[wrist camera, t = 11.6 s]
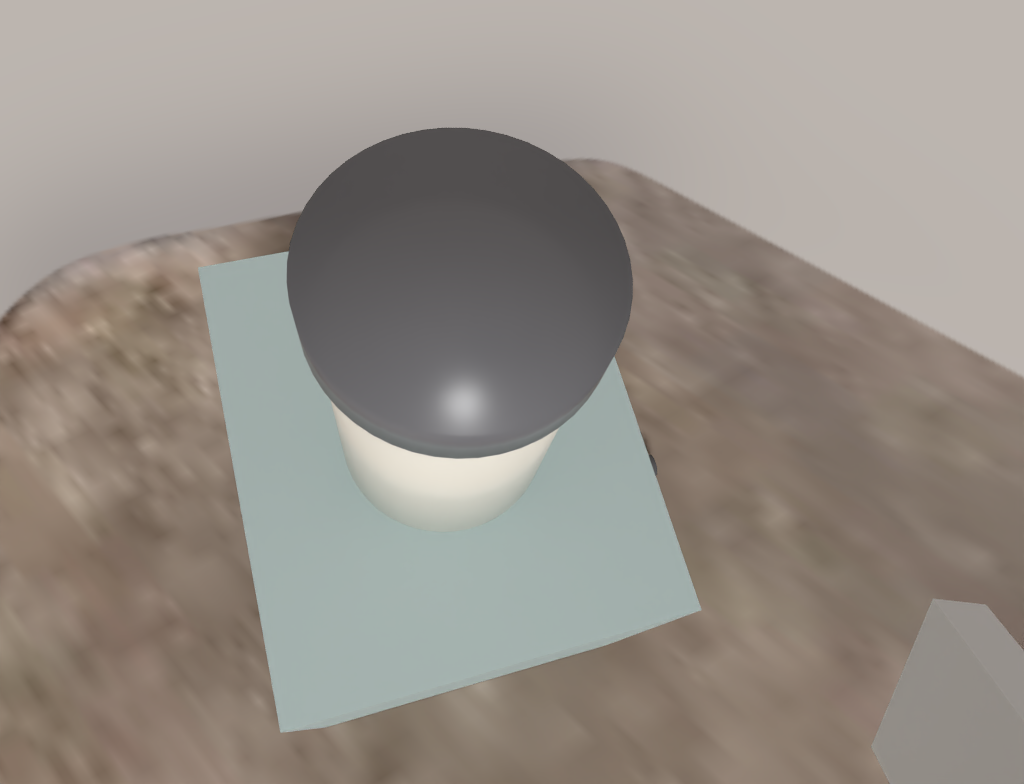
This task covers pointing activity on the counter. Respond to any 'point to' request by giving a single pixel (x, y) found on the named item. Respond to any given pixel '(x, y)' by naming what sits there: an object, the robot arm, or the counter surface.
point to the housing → (423, 536)
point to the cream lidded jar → (455, 315)
